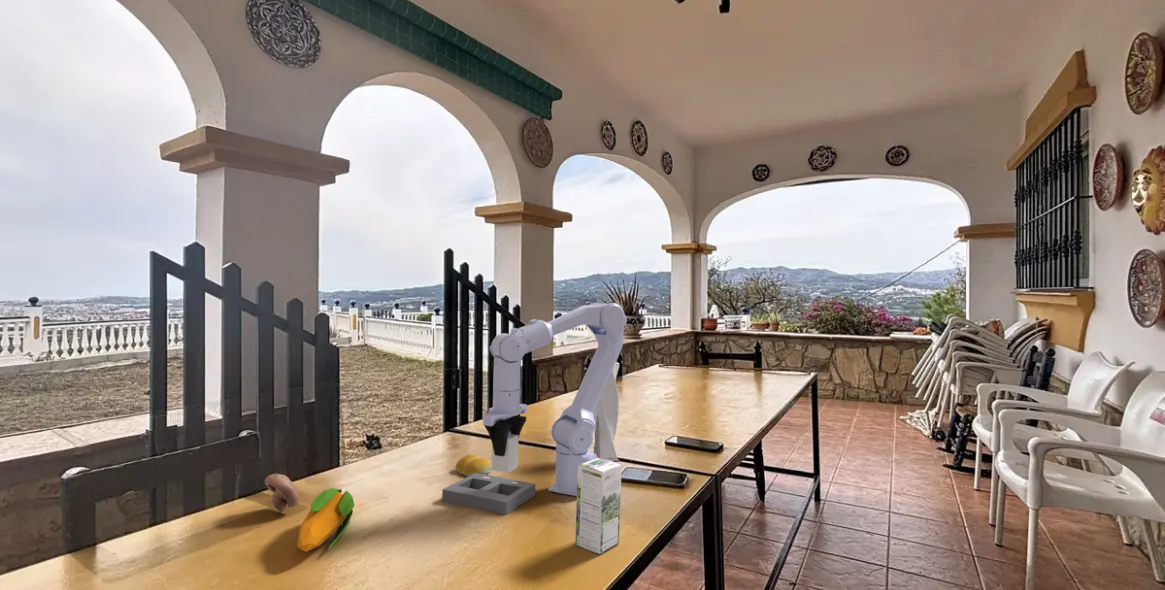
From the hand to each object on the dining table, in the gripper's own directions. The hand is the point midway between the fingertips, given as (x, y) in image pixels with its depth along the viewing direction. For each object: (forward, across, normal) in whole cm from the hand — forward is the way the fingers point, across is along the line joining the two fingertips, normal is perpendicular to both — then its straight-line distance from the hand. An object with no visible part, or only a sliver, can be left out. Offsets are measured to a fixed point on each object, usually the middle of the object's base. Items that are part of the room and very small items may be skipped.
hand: (505, 452), depth 113 cm
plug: (+3, 0, 0) cm, 3 cm away
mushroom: (+11, +25, -36) cm, 45 cm away
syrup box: (+11, +10, +26) cm, 30 cm away
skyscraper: (+11, -39, +8) cm, 41 cm away
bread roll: (+11, -13, -17) cm, 24 cm away
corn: (+11, +29, -19) cm, 37 cm away
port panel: (+10, 0, -4) cm, 11 cm away
